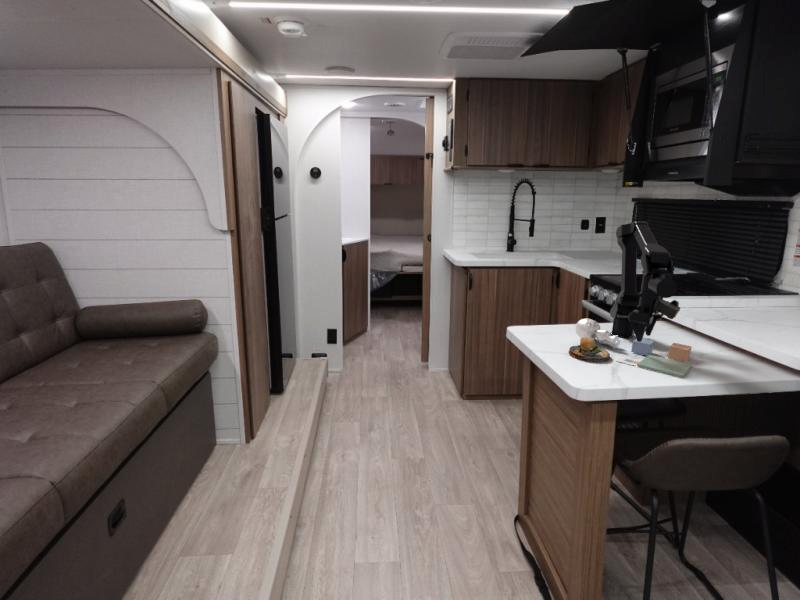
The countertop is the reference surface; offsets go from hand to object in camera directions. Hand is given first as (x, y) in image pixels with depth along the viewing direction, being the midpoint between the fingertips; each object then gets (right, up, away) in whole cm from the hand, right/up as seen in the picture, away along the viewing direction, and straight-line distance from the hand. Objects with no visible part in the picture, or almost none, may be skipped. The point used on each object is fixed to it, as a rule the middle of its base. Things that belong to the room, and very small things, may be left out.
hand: (643, 338), depth 157 cm
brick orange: (+9, -6, -3) cm, 12 cm away
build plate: (+1, -7, -11) cm, 14 cm away
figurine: (-12, -3, +9) cm, 15 cm away
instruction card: (-7, -7, -8) cm, 13 cm away
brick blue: (0, -5, +1) cm, 5 cm away
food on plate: (-19, -6, -4) cm, 20 cm away
